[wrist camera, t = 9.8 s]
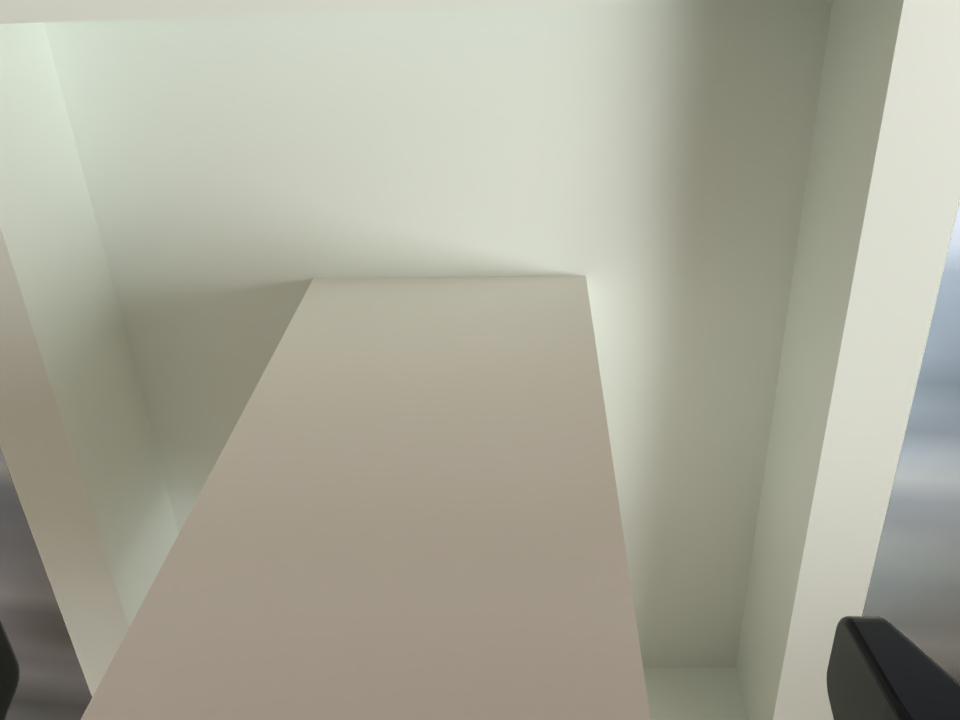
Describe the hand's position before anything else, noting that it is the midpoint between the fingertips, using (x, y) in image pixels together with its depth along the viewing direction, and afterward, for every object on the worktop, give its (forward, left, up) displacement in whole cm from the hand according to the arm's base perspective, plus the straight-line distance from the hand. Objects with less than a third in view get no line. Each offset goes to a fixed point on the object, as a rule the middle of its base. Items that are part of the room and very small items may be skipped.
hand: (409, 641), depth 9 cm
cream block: (0, 0, -5) cm, 5 cm away
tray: (0, 0, -6) cm, 6 cm away
